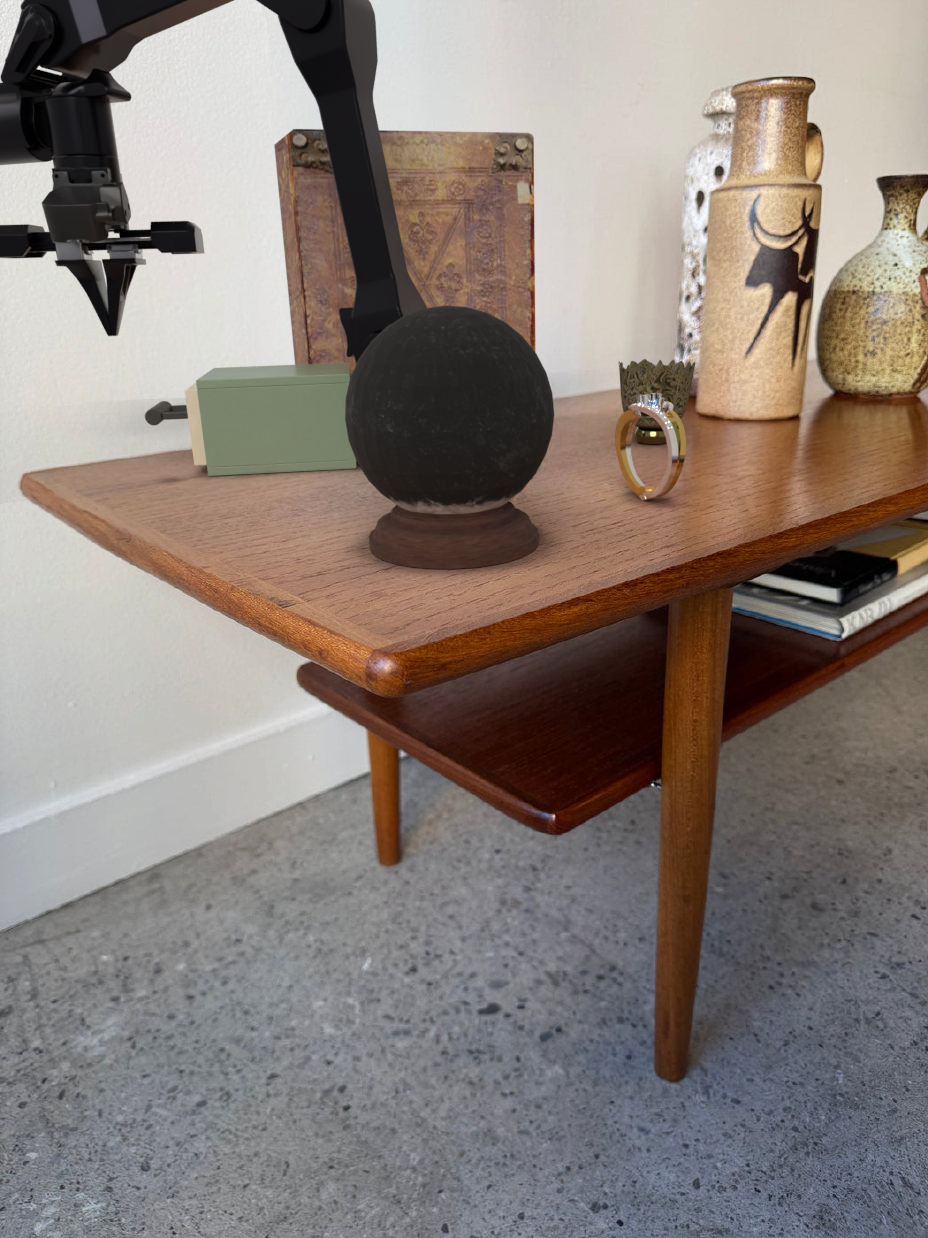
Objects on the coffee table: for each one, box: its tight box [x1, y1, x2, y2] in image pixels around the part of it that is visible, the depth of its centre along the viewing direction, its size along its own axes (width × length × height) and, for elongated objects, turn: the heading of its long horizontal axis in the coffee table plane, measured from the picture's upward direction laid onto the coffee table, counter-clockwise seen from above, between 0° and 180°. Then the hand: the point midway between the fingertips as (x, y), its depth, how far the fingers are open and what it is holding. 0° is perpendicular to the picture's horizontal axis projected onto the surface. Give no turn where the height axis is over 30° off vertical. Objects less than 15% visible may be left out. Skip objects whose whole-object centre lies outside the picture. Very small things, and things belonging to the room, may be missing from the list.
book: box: [273, 128, 536, 375], centre depth 100 cm, size 25×9×30 cm, turn 110°
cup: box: [618, 358, 696, 445], centre depth 93 cm, size 8×7×8 cm
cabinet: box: [195, 363, 358, 477], centre depth 89 cm, size 14×12×9 cm
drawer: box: [144, 382, 207, 467], centre depth 89 cm, size 17×10×7 cm, turn 97°
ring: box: [614, 393, 687, 501], centre depth 70 cm, size 7×3×8 cm, turn 23°
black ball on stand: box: [345, 306, 555, 570], centre depth 59 cm, size 13×13×15 cm
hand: (113, 335), depth 90 cm, fingers closed
